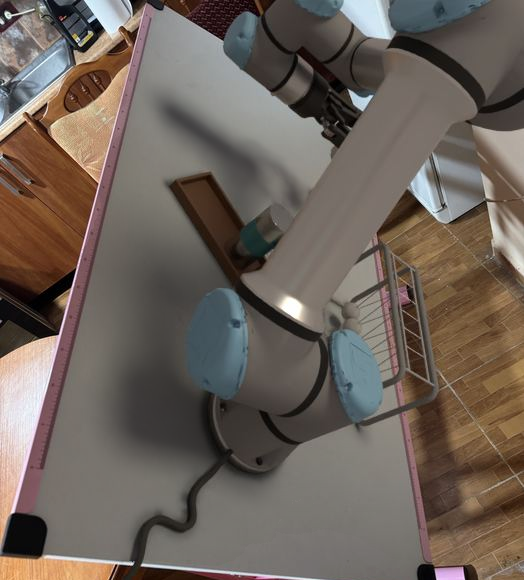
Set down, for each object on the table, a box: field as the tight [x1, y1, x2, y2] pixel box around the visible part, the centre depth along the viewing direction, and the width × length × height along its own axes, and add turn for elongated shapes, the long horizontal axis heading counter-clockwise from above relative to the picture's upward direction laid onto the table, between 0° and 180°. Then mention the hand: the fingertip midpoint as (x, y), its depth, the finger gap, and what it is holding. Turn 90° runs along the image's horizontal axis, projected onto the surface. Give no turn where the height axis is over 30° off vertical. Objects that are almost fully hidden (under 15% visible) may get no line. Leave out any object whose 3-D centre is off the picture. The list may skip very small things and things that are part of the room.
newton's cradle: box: [321, 242, 440, 427], centre depth 104 cm, size 30×10×18 cm, turn 178°
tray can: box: [224, 202, 294, 270], centre depth 96 cm, size 6×6×12 cm
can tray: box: [169, 171, 268, 287], centre depth 99 cm, size 10×27×2 cm, turn 47°
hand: (379, 156), depth 113 cm, fingers closed on beverage can, 6 cm apart
